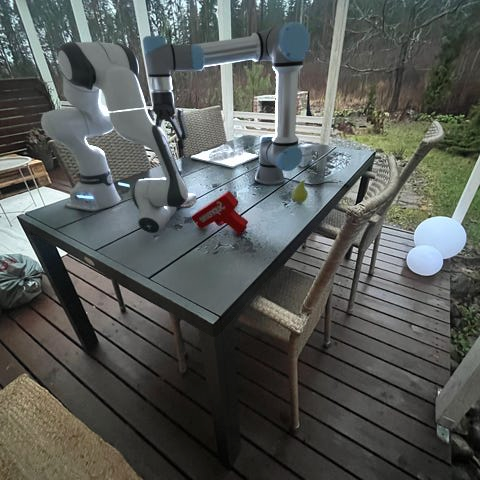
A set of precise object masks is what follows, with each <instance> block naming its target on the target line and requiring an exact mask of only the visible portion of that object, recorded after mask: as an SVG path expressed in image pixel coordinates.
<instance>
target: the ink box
mask: <svg viewBox="0 0 480 480" xmlns="http://www.w3.org/2000/svg"><path fill="white" fill-rule="evenodd" d="M298 147H299V148H300V150H301V151H302V160H301V162H300V164H299V165H298V166H297V167H300V168H304V167H306V166H309V165H311V164H312V156H313V148H314V144H312V143H311V144H310V143H304V144H300V145H298ZM310 162H311V163H310ZM308 163H309V164H308ZM305 164H307V165H305ZM301 165H304V166H301Z"/></svg>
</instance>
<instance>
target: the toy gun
mask: <svg viewBox="0 0 480 480" xmlns="http://www.w3.org/2000/svg"><path fill="white" fill-rule="evenodd" d="M238 205H239V200H238V199H237V197H236V196H235V195H234V194H233V193H232V191H231V190H227V191H226V192H224V193H222V194H221V195H220V196H218V197H216V198H215V199H213V200H212V201H211V202H209V203H208V204H206V205H204V206H203V207H201V208H200V209H198V210H197V211H195V213H194V214H193V215H192V216H191V217H190V219H192V221H193V222H194V224H196V226H197V227H198V228H199V229H201V230H202V229H204V228H206V227H209V226H210V225H211V224H213V223H215V225H216V226H217V227H221V226H223V225H225V224H226V225H227V226H229V227H230V228H231V229H232V230H234V232H235V235H237V236H239V234H241V233H242V234H244V233H245V231H246V230H247V228H248V226H247V225H248V224H249V221H248V220H247V219H246V218H245V217H244V216H242V215H241V214H239V213H238V212H237V210H235V209H237V206H238Z"/></svg>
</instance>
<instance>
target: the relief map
mask: <svg viewBox="0 0 480 480" xmlns="http://www.w3.org/2000/svg"><path fill="white" fill-rule="evenodd" d="M190 158H191V159H192V160H197V161H201V162H205V163H209V164H210V163H211V164H214V165H218V166H221V167H222V166H223V167H228V168H231V169H233V168H234V169H235V168H236V167H238V166H241V165H242V164H246V163H248V162H250V161H252V160H255V159H259V154H256V153H254V154H253V153H250V152H248V151H246V150H245V149H244V148H243V147H240V148H237V149H234V148H232V147H231V146H230V145H229V144H224V143H223V144H222V145H220V146H218V147H215V148H212V149H209V150H205V151H201V152H200V153H198V154H194V155H191V156H190Z"/></svg>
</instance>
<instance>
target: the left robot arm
mask: <svg viewBox="0 0 480 480" xmlns="http://www.w3.org/2000/svg"><path fill="white" fill-rule="evenodd" d="M56 56H57V63H58V67H59V68H60V71H61V73H62V84H63V85H62V89H63V90H62V93H63V96H64V98H65V100H66V101H67V102H68V103H69V104H70V105H71V106H73V107H64V108H63V107H62V108H55V109H52V110H49V111H46V112H43V114H42V115H41V118H40V124H41V128H42V130H43V132H44V133H45V135H46V136H47V137H49V139H51V140H53V141H55V142H56V143H59V144H61V145H63V146H64V147H65V148H66V149H67V150H68V151H69V152H70V153H71V154H72V156H73V158H74V160H75V162H76V165H77V168H78V170H79V173H78V174H77V175H75V176H74V177H76V179H78V183H76V184H75V186H73V188H71V189H70V192H69V197H70V200H69V201H68V202H67V203H66V207H67V208H69V209H70V208H72V209H75V210H82V211H88V212H96V211H99V210H102V209H107V208H110V207H111V208H112V207H113V206H116V205H118V204H119V203H120V202H121V201H122V198H121V196H120V195H119V193H118V191H117V189H116V186H115V184H114V179H113V174H112V171H111V169H110V168H109V165H108V161H107V158H106V157H107V156H106V154H105V152H104V151H103V150H102V149H101V148H99V147H97V146H93V145H90V144H89V143H88V141H87V139H88V138H93V137H99V136H104V135H105V134H108V133H110V132H112V131H113V130H114V131H115V132H116V134H118V135H119V136H120V137H122V138H123V139H124V140H126V141H129V142H131V143H134V144H137V145H141V146H144V147H146V148H148V149H150V150H151V151H152V152H153V153H154V154H155V156H156V158H157V160H158V162H159V164H160V167H161V170H162V173H163V175H164V177H157V178H156V177H155V178H153V177H151V178H144V179H143V178H141V179H140V178H139V179H138V180H136V182H135V183H134V184H133V187H132V190H131V199H132V202H133V204H134V206H135V207H136V209H137V210H138V219H137V224H138V226H139V227H140V229H141V230H143V231H144V232H146V233H148V234H156V233H158V232H160V231H162V230H163V229H164V228H165V227H166V226H167V224H168V223H169V221H170V219H171V218H173V216H174V214H175V213H176V212H177V211H178V209H177V208H181V209H185V210H187V209H191V208H192V207H194V206H195V205H196V203H197V195H196V194H195V193H189V190H188V186H187V183H186V181H185V180H184V178H183V176H182V174H180V172H179V169H178V168H179V166H178V164H177V161H176V159H175V156H174V153H173V150H172V147H170V146H171V145H170V143H169V141H168V139H167V136H166V134H165V132H164V131H163V128H162V127H161V128H160V127H159V126H157V125H155V124H156V123H155V121H154V122H153V121H152V119H151V118H150V116H149V114H148V111H147V109H148V108H147V104H146V100H145V97H144V94H143V90H142V87H141V85H140V82H139V80H138V76H139V72H140V68H139V62H138V59H137V55H136V54H135V53H134V51H133V50H132V48H131V47H129V46H127V45H125V44H121V43H110V42H105V41H86V42H85V41H82V42H80V41H75V42H74V41H69V42H64V43H62V44H60V45H59V46H58V49H57V55H56ZM101 94H103V97H104V101H105V102H104V103H105V105H106V106H104V105H102V102H101V97H102V96H101ZM117 183H118V186H123V187H128V188H130V184H128V183H123V182H117Z"/></svg>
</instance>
